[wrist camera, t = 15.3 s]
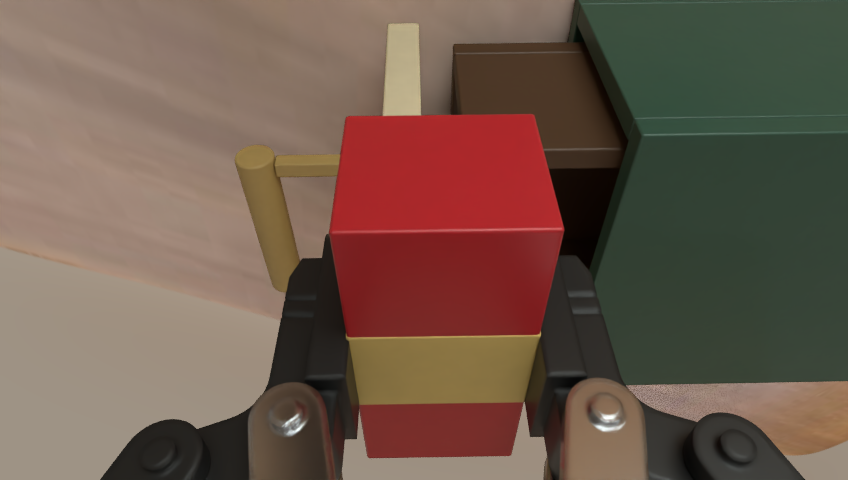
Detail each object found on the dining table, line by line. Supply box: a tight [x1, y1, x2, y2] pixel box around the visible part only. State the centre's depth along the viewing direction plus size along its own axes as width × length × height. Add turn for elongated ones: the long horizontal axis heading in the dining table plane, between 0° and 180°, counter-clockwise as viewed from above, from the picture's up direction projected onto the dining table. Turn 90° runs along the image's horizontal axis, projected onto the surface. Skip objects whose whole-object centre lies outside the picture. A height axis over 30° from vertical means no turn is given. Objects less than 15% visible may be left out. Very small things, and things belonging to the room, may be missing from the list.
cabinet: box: [568, 0, 848, 385], centre depth 24 cm, size 15×14×9 cm
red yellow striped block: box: [329, 114, 564, 458], centre depth 12 cm, size 8×3×3 cm, turn 0°
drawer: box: [235, 23, 629, 292], centre depth 24 cm, size 19×12×7 cm, turn 90°
